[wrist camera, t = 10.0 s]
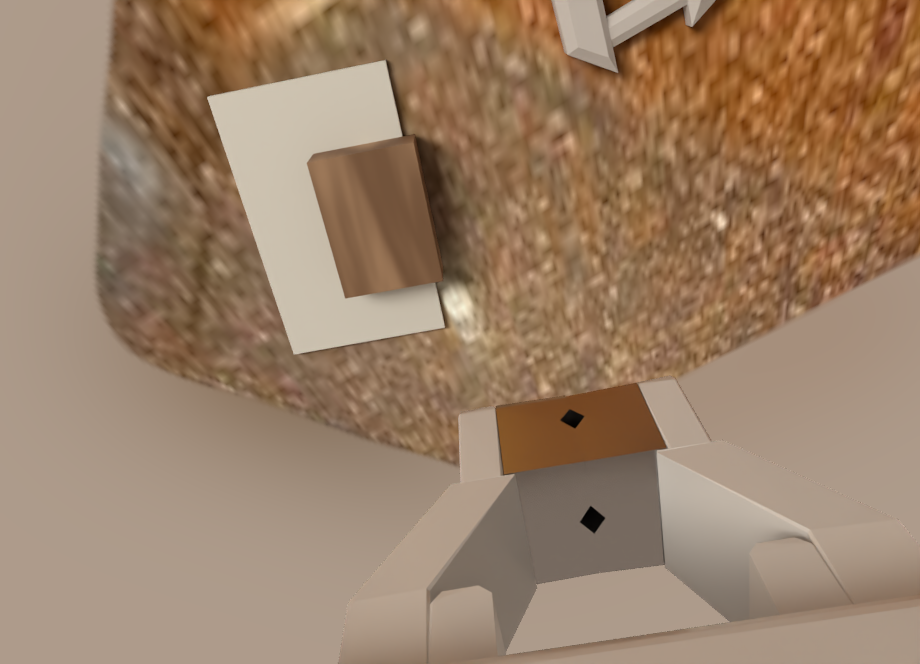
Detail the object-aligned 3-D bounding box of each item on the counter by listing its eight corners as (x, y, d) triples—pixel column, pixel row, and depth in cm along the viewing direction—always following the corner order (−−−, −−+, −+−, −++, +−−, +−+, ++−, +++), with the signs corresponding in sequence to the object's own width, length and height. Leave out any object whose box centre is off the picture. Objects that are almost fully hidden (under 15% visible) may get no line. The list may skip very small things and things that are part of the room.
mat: (385, 59, 43) (385, 60, 42) (445, 324, 51) (444, 327, 50) (208, 96, 43) (207, 97, 43) (294, 351, 51) (293, 354, 51)
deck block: (413, 142, 42) (306, 163, 43) (443, 280, 46) (345, 298, 47) (414, 134, 44) (313, 153, 45) (443, 267, 48) (349, 284, 49)
